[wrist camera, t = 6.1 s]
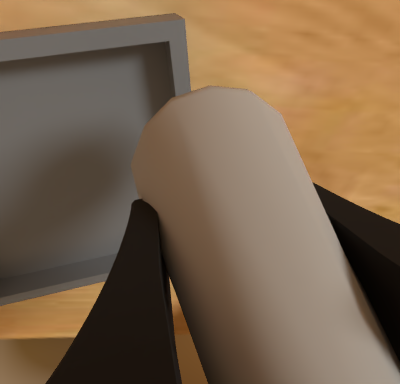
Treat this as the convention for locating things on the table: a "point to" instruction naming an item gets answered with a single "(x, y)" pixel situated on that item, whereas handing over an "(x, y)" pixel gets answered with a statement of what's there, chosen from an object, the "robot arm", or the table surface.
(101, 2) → the table surface
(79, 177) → the tray
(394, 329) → the robot arm
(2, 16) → the table surface
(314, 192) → the salt shaker
